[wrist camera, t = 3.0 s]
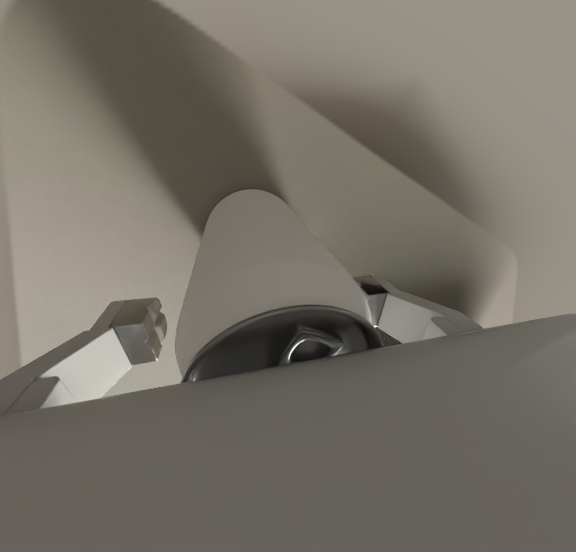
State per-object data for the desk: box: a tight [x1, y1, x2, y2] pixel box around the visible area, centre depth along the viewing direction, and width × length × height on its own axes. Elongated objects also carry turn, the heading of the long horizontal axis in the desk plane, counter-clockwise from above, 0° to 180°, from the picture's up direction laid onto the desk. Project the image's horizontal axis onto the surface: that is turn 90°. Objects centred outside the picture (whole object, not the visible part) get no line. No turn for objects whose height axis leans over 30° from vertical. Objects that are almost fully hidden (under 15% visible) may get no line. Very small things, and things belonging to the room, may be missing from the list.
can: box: [175, 189, 384, 383], centre depth 11 cm, size 6×6×12 cm
